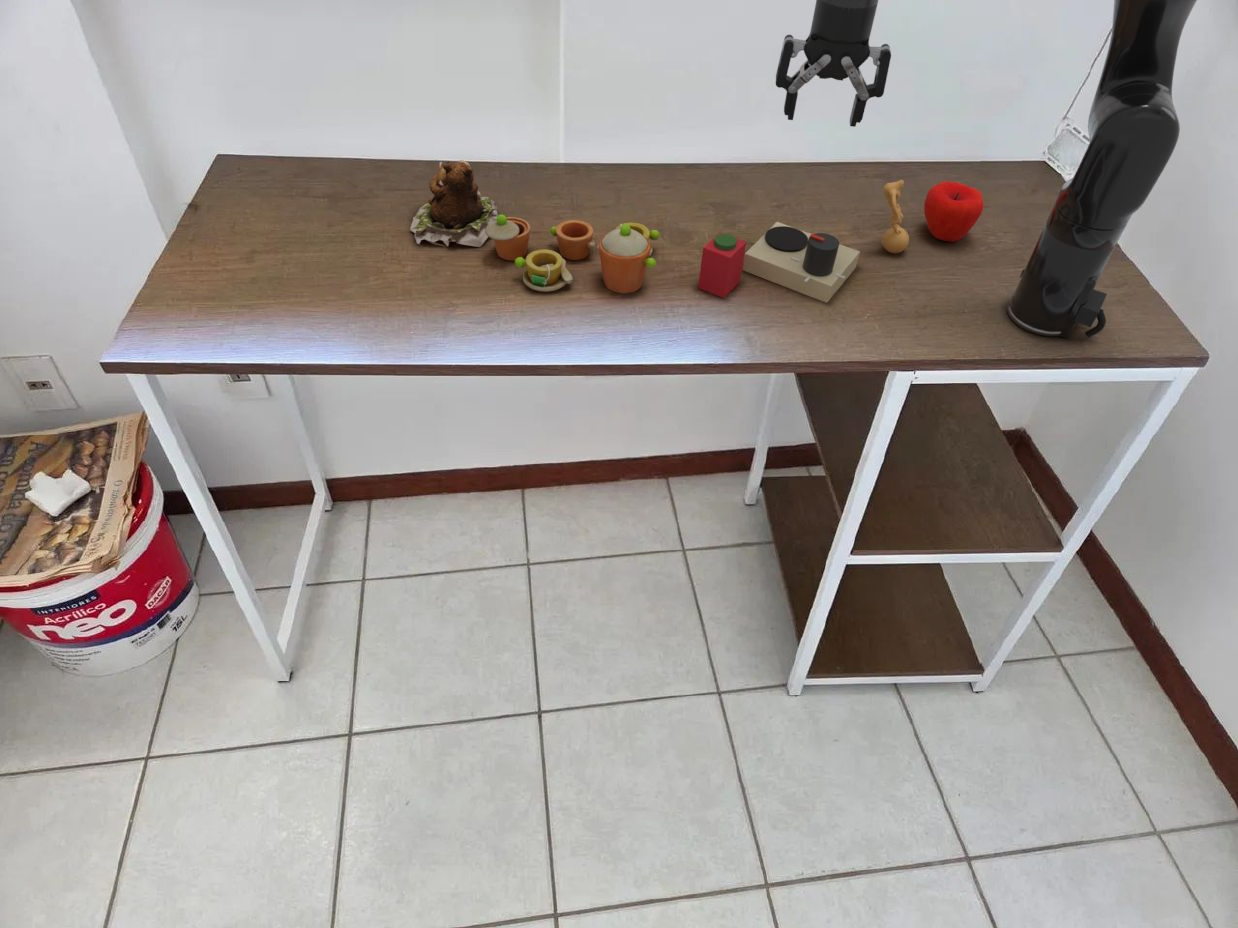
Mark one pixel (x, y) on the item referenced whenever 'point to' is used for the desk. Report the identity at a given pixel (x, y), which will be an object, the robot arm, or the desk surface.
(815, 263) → the hob knob
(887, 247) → the figurine
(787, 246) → the burner
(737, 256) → the red block green button
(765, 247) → the hob
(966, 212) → the apple
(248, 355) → the desk surface
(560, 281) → the toy tea set
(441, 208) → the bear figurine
